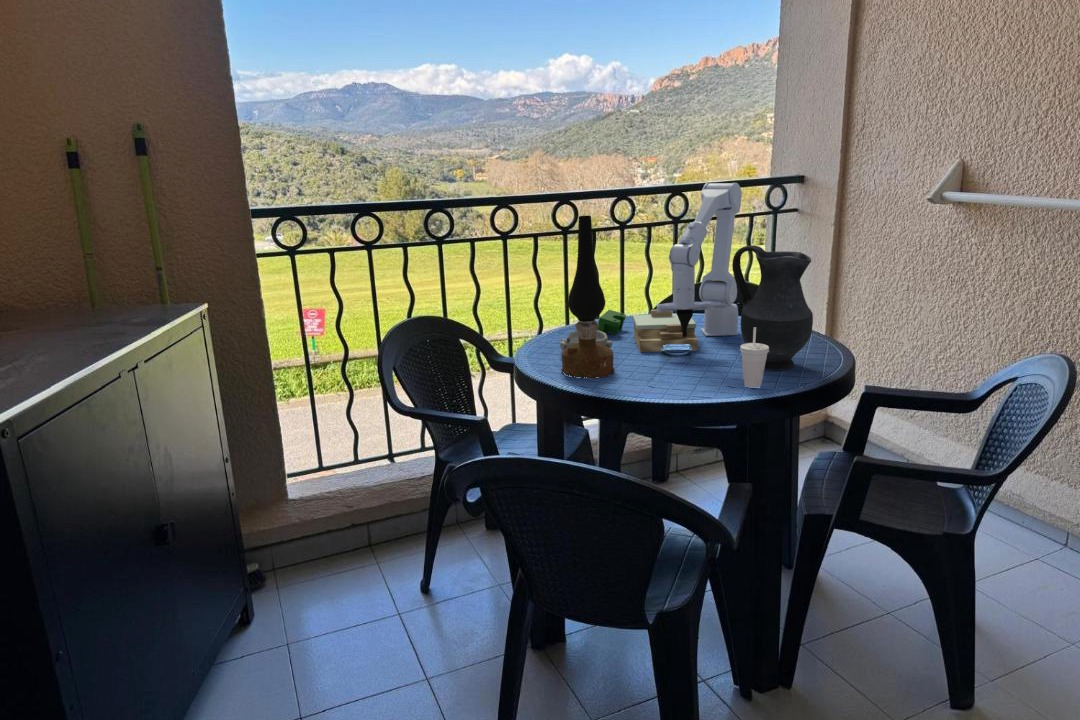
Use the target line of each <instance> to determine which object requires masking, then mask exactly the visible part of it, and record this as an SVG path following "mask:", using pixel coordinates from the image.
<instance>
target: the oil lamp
mask: <svg viewBox="0 0 1080 720" xmlns="http://www.w3.org/2000/svg"><path fill="white" fill-rule="evenodd" d="M592 225H593V224H592V215H579V216H578V226H577V227H578V233H577V234H578V235H577V257H576V258H577V261H576V270H575V273H574V278H573V282H572V286H571V287H570V291H569V293H568V300H567V307H568V309H569V312H570V313H571V314H572V315H573V317H576V318H577V320H578V321H577V323H575V324H574V327H575V329H576V330H577V332H578V334H579V337H578V339H579V340H570V339H569V337H568V336H567V338H566V340H567V343H569V341H579V343H576V344H574V345H572V346H570V347H568V348H567V349H565V350H564V351H563V352H561V363H562V364H561V365H562V368H561V369H560V371H562V372H561V373H563V372H564V373H565V374H566V375H568V376H569V375H570V376H572V377H574V376H575V377H581V378H584V377H585V378H586V377H587V378H596V377H603V378H605V377H604V376H607V377H609V376H611V375H612V374H614V372H615V367H614V351H613V350H612V349H611V348H608V347H606V346H604V345H602V344H600V342H598V343H596V336H595V334H596V332H597V329H598V327H599V324H598V322H597V321H596V320H597V318H599V316H600V315H601V314H602V312H603V311H604V310H605V306H606V299H605V295H604V294H605V293H604V291H603V288H602V286H601V283H600V280H599V277H598V274H597V272H596V267H595V266H596V265H595V258H594V257H595V256H594V242H593V229H592V227H593V226H592ZM608 375H609V376H608Z"/></svg>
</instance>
